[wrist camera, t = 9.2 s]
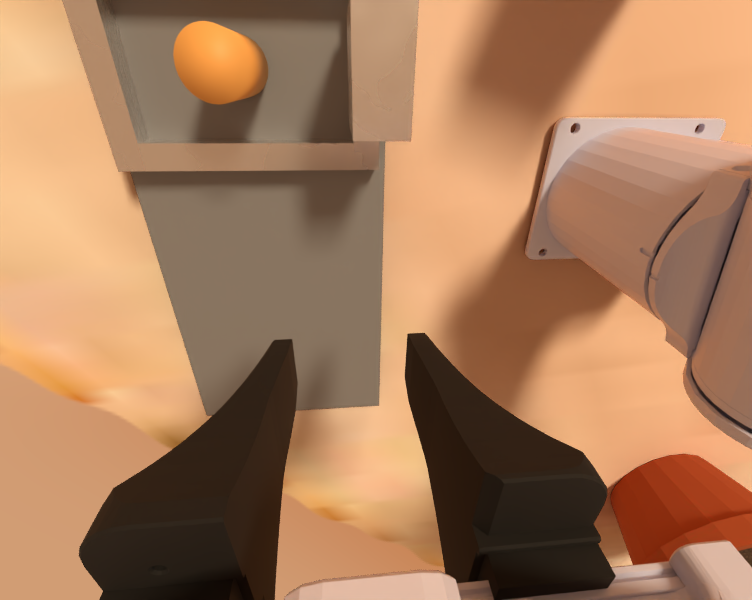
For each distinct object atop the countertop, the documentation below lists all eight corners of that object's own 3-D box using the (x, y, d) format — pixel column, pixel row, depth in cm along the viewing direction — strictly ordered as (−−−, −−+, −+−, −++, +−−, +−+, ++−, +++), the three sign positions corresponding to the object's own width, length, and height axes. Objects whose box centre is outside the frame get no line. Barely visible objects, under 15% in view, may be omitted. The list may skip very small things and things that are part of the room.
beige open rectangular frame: (394, -42, 15) (424, -104, 10) (388, 164, 19) (407, 198, 14) (62, -55, 14) (-103, -133, 9) (130, 166, 18) (46, 203, 13)
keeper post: (264, 34, 16) (241, 21, 12) (271, 97, 17) (253, 104, 13) (206, 32, 16) (164, 19, 12) (217, 97, 17) (183, 104, 13)
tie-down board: (387, -91, 15) (390, -101, 14) (377, 395, 29) (379, 405, 28) (57, -108, 14) (39, -120, 13) (210, 405, 28) (206, 415, 27)
